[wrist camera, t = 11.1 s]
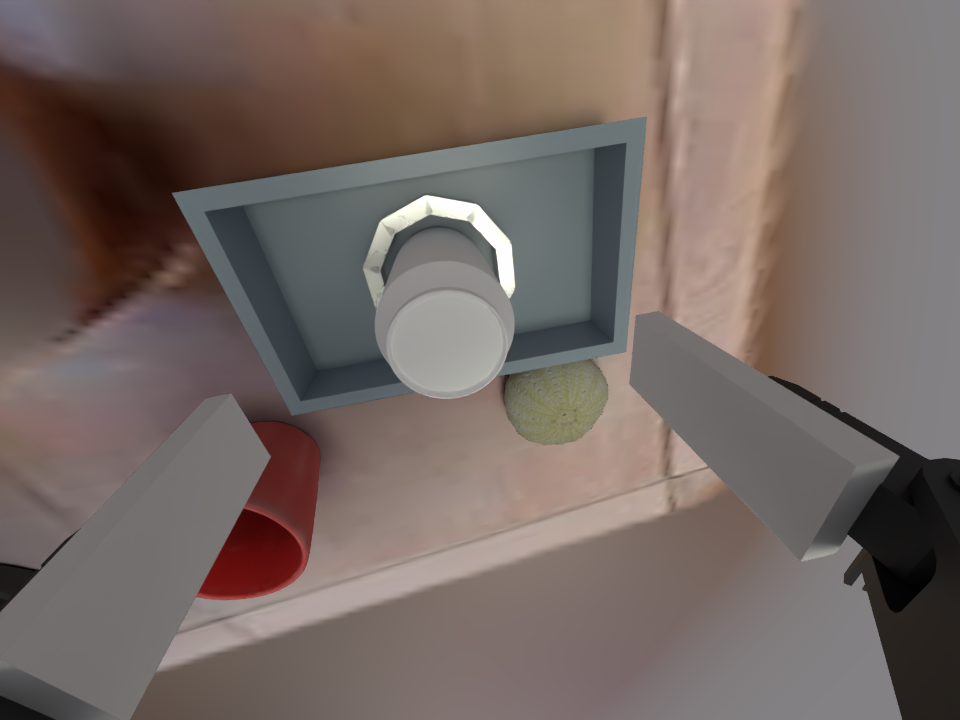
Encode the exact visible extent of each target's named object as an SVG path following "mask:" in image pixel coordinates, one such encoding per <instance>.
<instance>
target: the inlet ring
mask: <svg viewBox="0 0 960 720" xmlns="http://www.w3.org/2000/svg"><path fill="white" fill-rule="evenodd" d="M429 214H430V215H436V216H442V217H448V218H454V219H459V220H465V221H470V222H471V223H472V224H473V225H474V226H475V228H476V229H477V230H478V231H479V232H480V233H481V234H482V235H483V236H484V237H485V238H486V239H487V241H488V242H489V243H490V244H491V245H492V253H493V262H494V270H495V276H496V278H497V279H498V281H499V283H500V284H501V286H502V288H503V289H504V291H505V292H506V294H507V296H508V298H509V299H510V297H511V295H512V294H513V292H514V290H515V280H514V269H513V258H512V247H511V241H510V240H509V239H508V238H507V237H506V236H505V235H504V234H503V232H502V231H501V230H500V229H499V228H498V227H497V226H496V225H495V223H494V222H493V221H492V220H491V219H490V218H489V217H488V216H487V214H486V213H485V212H484V211H483V210H482V209H481V208H480V207H479V205H477V204H476V203H475V202H473V201H467V200H462V199H456V198H451V197H445V196H440V195H435V194H429V193H427V194H423V195H421V196H420V197H418V198H416V199H414V200H413V201H411V202H409V203H407V204H406V205H404V206H402V207H400V208H398V209H397V210H395V211H393V212H391V213H390V214H388V215H386V216H384V218H383V219H382V220H381V221H380V222H379V225H378V228H377V231H376V233H375V236H374V239H373V241H372V244H371V247H370V249H369V252H368V255H367V258H366V260H365V263H364V266H363V271H364V274H365V277H366V280H367V283H368V287H369V290H370V293H371V296H372V299H373V302H374V306H375V309H376V311H377V307H378V304H379V301H380V299H381V296H382V293H383V291H384V288H385V285H386V283H387V280H388V276H387V273H386V269H385V266H384V261H385V258H386V256H387V253H388V251H389V248H390V245H391V243H392V240H393V238H394V235H395V233H397V232H399V231H401V230H402V229H404V228H406V227H408V226H410V225H411V224H413V223H415V222H417V221H419V220H420V219H422V218H424V217H426V216H427V215H429Z"/></svg>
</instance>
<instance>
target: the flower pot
mask: <svg viewBox="0 0 960 720" xmlns="http://www.w3.org/2000/svg"><path fill="white" fill-rule="evenodd" d="M251 426H252V427H253V429H254V431H255V432H256V434H257V435H258V437H259V439H260V440H261V442H262V443H263V445H264V447H265V448H266V450H267V452H268V453H269V455H270V456H271V458H270V459H269V461H268V463H267V465H266V467H265V469H264V471H263V472H262V474H261V476H260V478H259V480H258V482H257V484H256V485H255V487H254V489H253V491H252V493H251V495H250V497H249V499H248V500H247V502H246V504H245V506H244V508H243V510H242V512H241V513H240V515H239V517H238V519H237V521H236V523H235V525H234V526H233V528H232V530H231V532H230V534H229V536H228V538H227V539H226V541H225V543H224V545H223V547H222V549H221V551H220V553H219V554H218V556H217V558H216V560H215V562H214V564H213V566H212V567H211V569H210V571H209V573H208V575H207V577H206V579H205V580H204V582H203V584H202V586H201V588H200V590H199V592H198V593H197V595H196V597H199V598H204V599H214V600H237V599H247V598H254V597H259V596H263V595H267V594H270V593H273V592H275V591H278V590H280V589H282V588H284V587H286V586H288V585H289V584H291V583H292V582H294V581H295V580H296V579H297V578H298V577H299V576H300V575H301V574H302V572H303V571H304V569H305V567H306V565H307V562H308V558H309V553H310V547H311V540H312V533H313V525H314V517H315V509H316V501H317V491H318V480H319V468H320V452H319V449H318V447H317V445H316V443H315V442H314V440H313V439H312V438H311V437H310V436H309V435H307V434H305V433H303V432H302V431H301V430H300V429H298V428H296V427H294V426H291V425H288V424H285V423H280V422H273V421H264V422H256V423H252V424H251Z"/></svg>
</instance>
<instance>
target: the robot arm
mask: <svg viewBox="0 0 960 720" xmlns="http://www.w3.org/2000/svg"><path fill="white" fill-rule="evenodd" d="M629 384H630V385H631V386H632V387H633V388H634V389H635V390H636V391H637V392H638V393H639V394H640V395H641V396H642V398H643V399H644V400H645V401H646V402H647V403H648V404H649V405H650V406H651V407H652V408H653V409H654V410H655V411H656V412H657V413H658V414H659V415H660V416H661V417H662V418H663V419H664V420H665V421H666V422H667V424H668V425H669V426H670V427H671V428H672V429H673V430H674V431H675V432H676V433H677V434H678V435H679V436H680V437H681V438H682V439H683V440H684V441H685V442H686V443H687V444H688V445H689V446H690V447H691V448H692V450H693V451H694V452H695V453H696V454H697V455H698V456H699V457H700V458H701V459H702V460H703V461H704V462H705V463H706V464H707V465H708V466H709V467H710V468H711V469H712V470H713V471H714V472H715V473H716V474H717V476H718V477H719V478H720V479H721V480H722V481H723V482H724V483H725V484H726V485H727V486H728V487H729V488H730V489H731V490H732V491H733V492H734V493H735V494H736V495H737V496H738V497H739V498H740V499H741V500H742V501H743V503H744V504H745V505H746V506H747V507H748V508H749V509H750V510H751V511H752V512H753V513H754V514H755V515H756V516H757V517H758V518H759V519H760V520H761V521H762V522H763V523H764V524H765V525H766V526H767V527H768V529H769V530H771V532H772V533H773V534H774V535H775V536H776V537H777V538H778V539H779V540H780V541H781V542H782V543H783V544H784V545H785V546H786V547H787V548H788V549H789V550H790V551H791V552H792V554H794V556H795V557H796V558H797V559H798V560H799V561H800V562H802V561H806V560H810V559H814V558H818V557H823V556H827V555H831V554H835V553H836V552H837V550H838V549H839V547H840V546H841V544H842V543H843V541H844V540H845V538H846V537H847V535H849V536H850V537H851V538H853V539H854V540H855V541H856V542H857V543H858V544H860V545H861V546H862V547H863V549H862V550H861V551H860V553H859V554H858V555H857V557H856V558H855V560H854V561H853V563H852V564H851V565H850V566H849V568H848V569H847V571H846V572H845V574H844V583H845V584H847V585H850V586H852V584H853V583H854V582H855V581H856V579H857V578H858V576H859V575H860V574H861V573H862V574H863V578H864V582H865V585H864V587H863V590H864V591H867V593H868V596H869V600H870V603H871V607H872V611H873V614H874V618H875V621H876V625H877V629H878V632H879V636H880V640H881V644H882V647H883V651H884V654H885V658H886V662H887V665H888V669H889V673H890V676H891V680H892V684H893V687H894V691H895V695H896V698H897V702H898V705H899V709H900V713H901V716H902V720H960V460H956V459H948V458H942V459H934V460H929V459H927V458H924V457H923V456H921V455H919V454H917V453H916V452H914V451H912V450H910V449H909V448H907V447H905V446H903V445H902V444H900V443H898V442H896V441H895V440H893V439H891V438H889V437H888V436H886V435H884V434H882V433H881V432H879V431H877V430H876V429H874V428H872V427H870V426H869V425H867V424H865V423H863V422H862V421H860V420H858V419H856V418H855V417H853V416H851V415H849V414H848V413H846V412H841V411H840V409H839V408H837V407H835V406H834V405H832V404H830V403H828V402H826V401H821V398H819V397H818V396H816V395H814V394H813V393H811V392H809V391H808V390H806V389H804V388H802V387H800V386H799V385H796V384H793V383H791V382H788V381H785V380H782V379H779V378H777V377H774V376H768V377H767V376H765V375H763V374H762V373H760V372H758V371H757V370H755V369H753V368H752V367H750V366H748V365H747V364H745V363H743V362H742V361H740V360H738V359H737V358H735V357H733V356H732V355H730V354H728V353H727V352H725V351H723V350H722V349H720V348H718V347H717V346H715V345H713V344H712V343H710V342H708V341H707V340H705V339H703V338H702V337H700V336H698V335H697V334H695V333H694V332H692V331H690V330H689V329H687V328H685V327H684V326H682V325H680V324H679V323H677V322H675V321H674V320H672V319H670V318H669V317H667V316H665V315H664V314H662V313H660V312H659V311H657V312H651V313H646V314H641V315H636V321H635V331H634V342H633V352H632V362H631V373H630V383H629ZM270 458H271V456H270V455H269V453H268V452H267V450H266V448H265V447H264V445H263V443H262V442H261V440H260V439H259V437H258V435H257V434H256V432H255V431H254V429H253V427H252V426H251V424H250V423H249V421H248V419H247V418H246V416H245V415H244V413H243V411H242V410H241V408H240V407H239V405H238V403H237V402H236V400H235V399H234V397H233V395H232V394H231V393H230V394H225V395H220V396H215V397H210V398H206V399H205V400H204V401H203V402H202V403H201V404H200V405H199V406H198V407H197V408H196V409H195V410H194V411H193V412H192V413H191V414H190V415H189V416H188V417H187V418H186V419H185V421H184V422H183V423H182V424H181V425H180V426H179V427H178V428H177V429H176V430H175V431H174V432H173V433H172V434H171V435H170V436H169V437H168V438H167V439H166V440H165V441H164V442H163V443H162V444H161V445H160V447H159V448H158V449H157V450H156V451H155V452H154V453H153V454H152V455H151V456H150V457H149V458H148V459H147V460H146V461H145V462H144V463H143V464H142V465H141V466H140V467H139V468H138V469H137V470H136V471H135V473H134V474H133V475H132V476H131V477H130V478H129V479H128V480H127V481H126V482H125V483H124V484H123V485H122V486H121V487H120V488H119V489H118V490H117V491H116V492H115V493H114V494H113V495H112V496H111V497H110V499H109V500H108V501H107V502H106V503H105V504H104V505H103V506H102V507H101V508H100V509H99V510H98V511H97V512H96V513H95V514H94V515H93V516H92V517H91V518H90V519H89V520H88V521H87V522H86V523H85V525H84V526H83V527H82V528H80V529H79V530H78V531H77V532H75V533H74V534H73V535H71V536H70V537H69V538H67V539H66V540H65V541H64V542H63V543H62V544H61V545H60V546H59V547H58V548H57V549H56V550H55V551H54V552H53V553H52V554H51V555H50V556H49V557H48V558H47V560H46V561H45V562H44V563H43V564H42V565H41V566H42V567H41V569H40V570H36V571H35V572H34V571H30V570H26V569H21V568H16V567H9V566H2V565H0V720H130V718H131V716H132V714H133V713H134V711H135V709H136V707H137V705H138V703H139V701H140V700H141V698H142V696H143V694H144V692H145V690H146V688H147V686H148V685H149V683H150V681H151V679H152V677H153V675H154V674H155V672H156V670H157V668H158V666H159V664H160V662H161V660H162V659H163V657H164V655H165V653H166V651H167V649H168V647H169V646H170V644H171V642H172V640H173V638H174V636H175V634H176V633H177V631H178V629H179V627H180V625H181V623H182V621H183V620H184V618H185V616H186V614H187V612H188V610H189V608H190V606H191V605H192V603H193V601H194V599H195V597H196V595H197V593H198V592H199V590H200V588H201V586H202V584H203V582H204V580H205V579H206V577H207V575H208V573H209V571H210V569H211V567H212V566H213V564H214V562H215V560H216V558H217V556H218V554H219V553H220V551H221V549H222V547H223V545H224V543H225V541H226V539H227V538H228V536H229V534H230V532H231V530H232V528H233V526H234V525H235V523H236V521H237V519H238V517H239V515H240V513H241V512H242V510H243V508H244V506H245V504H246V502H247V500H248V499H249V497H250V495H251V493H252V491H253V489H254V487H255V485H256V484H257V482H258V480H259V478H260V476H261V474H262V472H263V471H264V469H265V467H266V465H267V463H268V461H269V459H270Z"/></svg>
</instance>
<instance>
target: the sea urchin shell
mask: <svg viewBox="0 0 960 720" xmlns="http://www.w3.org/2000/svg"><path fill="white" fill-rule="evenodd" d="M607 400H608V384H607V381H606V379H605V377H604V375H603V374H602V371H601V370H600V368H599V367H597V366H596V365H595V364H594V363H593V362H592V361H591V360H590V359H586V360H581V361H576V362H570V363H565V364H560V365H555V366H550V367H544V368H539V369H534V370H529V371H523V372H518V373H513V374H510V375H509V378H508V380H507V383H506V384H505V395H504V404H505V408H506V410H507V415H508V418H509V420H510V421H511V423H512V425H513V426H514V427H515V429H516V431H517V432H518V434H520V435H521V436H522V437H524V438H526V440H528V441H531V442H536V443H540V444H542V445H543V444H544V445H546V444H547V445H548V444H557V445H558V444H564V443H567V442H574V441H576V440H578V439H579V438H582V436H583V435H584V434H585V433H586V432H587V431H589V430H590V429H592V427H593V425H594V424H595V422H596V421H597V420H598V418H599V417H600V415H602V413H603V409H604V406H605V404H606V402H607Z"/></svg>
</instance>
